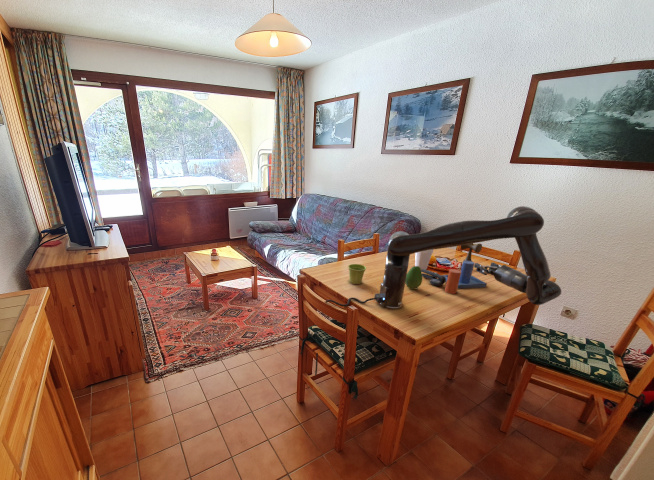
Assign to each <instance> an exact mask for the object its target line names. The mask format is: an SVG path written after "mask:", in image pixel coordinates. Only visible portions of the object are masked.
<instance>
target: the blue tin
mask: <svg viewBox="0 0 654 480" xmlns="http://www.w3.org/2000/svg"><path fill="white" fill-rule="evenodd" d="M474 265H475V262H474V261H472V262H471V261H462V264H461V266H462V267H461V268H460V271H461V276H460V280H459V282H460V283H464V284H468V283H469V282H470V278H471V275H472V276H473V271H474V268H475V267H474Z"/></svg>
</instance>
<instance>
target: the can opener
mask: <svg viewBox="0 0 654 480" xmlns="http://www.w3.org/2000/svg"><path fill="white" fill-rule="evenodd" d="M421 273H422V278H425V279H427V280H429V281H428V282H429V284H431V285H432V286H436V287H438V286H442V285H444V284H446V282H447V281H446V278H445V276H443V274H439V273H438V272H435V271H432V270H428V269H426V270H423V269H422V270H421Z"/></svg>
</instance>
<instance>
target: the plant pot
mask: <svg viewBox="0 0 654 480" xmlns="http://www.w3.org/2000/svg"><path fill="white" fill-rule="evenodd" d="M347 268H348V274H349V276H348V277H349V283H350V284H353V285H360V284H362V282H363V277H364V274H365V272H366V270H367V267H366V266H365V265H364V264H359V263H351V264H349V265H347Z"/></svg>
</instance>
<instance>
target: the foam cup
mask: <svg viewBox="0 0 654 480" xmlns="http://www.w3.org/2000/svg"><path fill="white" fill-rule="evenodd" d="M433 252H434V249H433V250H426V251H421V252H417V253H415V258H414V266H419V267H420V269H421V270H422V269H423V270H428V267H429V264H430V261H431V259H432V255H433Z"/></svg>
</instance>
